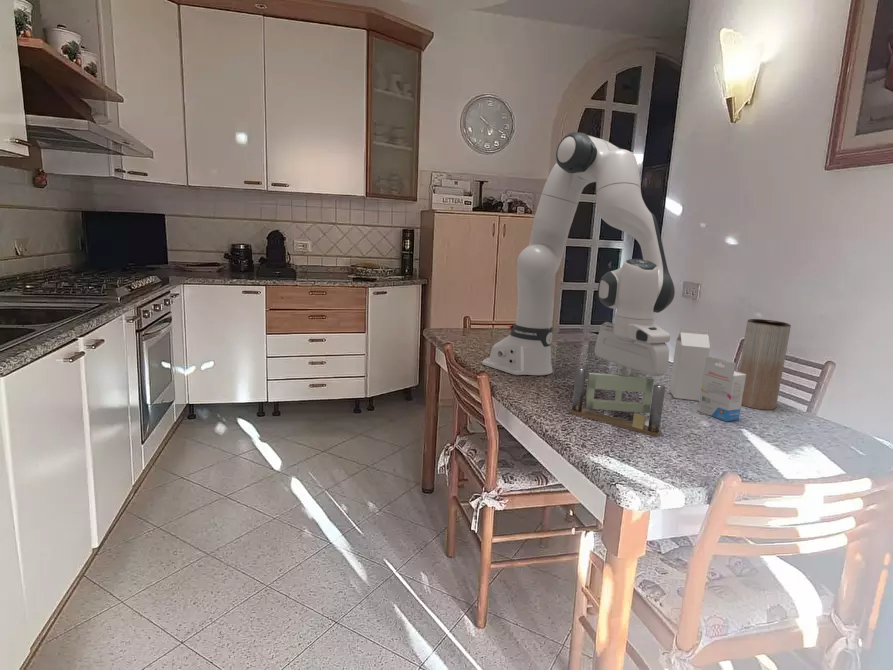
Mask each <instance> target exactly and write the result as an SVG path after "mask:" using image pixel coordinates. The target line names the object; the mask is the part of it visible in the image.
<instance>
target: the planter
mask: <svg viewBox="0 0 893 670" xmlns="http://www.w3.org/2000/svg"><path fill="white" fill-rule="evenodd" d="M791 328H792V325H791V324H790V323H788V322H784V321H779V320H771V319H760V318H750V319H747V321H746V327H745V334H744V340H743V346H742V350H741V357H740V362H739V363H740V364H739V367H738V368H739V369H738V372H739V373H743V374H746V379H745V385H744V391H743V397H742V403H741V406H743V407H747V408H751V409H755V410H764V411H767V410H768V411H771V410H774V409H776V408H777V403H778V398H779V393H780V388H781V387H780V386H781V383H782V377H783V372H784V367H785V362H786V355H787V350H788V349H787V348H788V345H789V340H790V339H789V338H790V334H791Z"/></svg>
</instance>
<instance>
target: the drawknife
mask: <svg viewBox="0 0 893 670" xmlns="http://www.w3.org/2000/svg"><path fill="white" fill-rule="evenodd" d="M586 375H587V368H585V367H580V366H579V367H575V375H574V385H573V393H572V395H573V396H572V404H571V408H569V409H568V413H570V414H571V415H572V414H573V415H576V416H580V417H583V418H588V419H591V420H594V421H598V422H601V423H604V424H608V425H612V426H616V427H618V428H624V429H627V430H630V431H633V432H637V433H640V434H645V435H648V436H652V437H658V436H659V435H661V433H662V429H661V421H662V414H663V407H664V399H665V392H666V386H665V385H663V384H658V383H657V384H656V383H655V384H653V389H652V397H651V404H650V411H649V416H648V425H646V419H647V416H646V415H643V414H640V413H637V412H634V413H633V419H632V421H630V420H627V419H622V418H620V417H619V418H618V417H616V416H612V415H607V414H604V413H600V412H597V411H593V410H589V409H587V408H586V409H585V408H583V401H584V394H585V383H586Z"/></svg>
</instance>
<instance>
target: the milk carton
mask: <svg viewBox="0 0 893 670" xmlns="http://www.w3.org/2000/svg"><path fill="white" fill-rule="evenodd" d="M709 333H710V331H709V330H704V329H703V330H702V329H693V328H683V327H682V328H680V332H679V334H678V336H677V338H676V340H675V347H674V354H673V360H672V368H671V375H670V382H669V383H670V384H669V392H670V394H671V396H672V397H673V398H674V399H680V400H687V401H698V402H699V401H700V394H701V388H702V381H703V374H704V368H705V364H706V357H707V356H710V349H711V345H710V339H709V337H710V336H709Z"/></svg>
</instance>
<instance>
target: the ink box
mask: <svg viewBox="0 0 893 670" xmlns="http://www.w3.org/2000/svg"><path fill="white" fill-rule="evenodd" d="M717 363H718V364H721V365H724V366H721V365H717ZM736 366H737V365H736V362H733V361H729V360H726V359H723V358H722V359H721V358H718V357H715V356H710V355H709V356H707V357H706V364H705V368H704V374H703V381H702V388H701V394H700V401H698V402H699V403H698V408H697V411H698V412H700V413H703V414H705V415H708V416H711V417H713V418H716V419H718V420H721V421H724V422H732V421H739V420H740V415H741V408H742V405H741V403H742V397H743V391H744V385H745V379H746V374H743V373H739V371H735V370H736Z"/></svg>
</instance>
